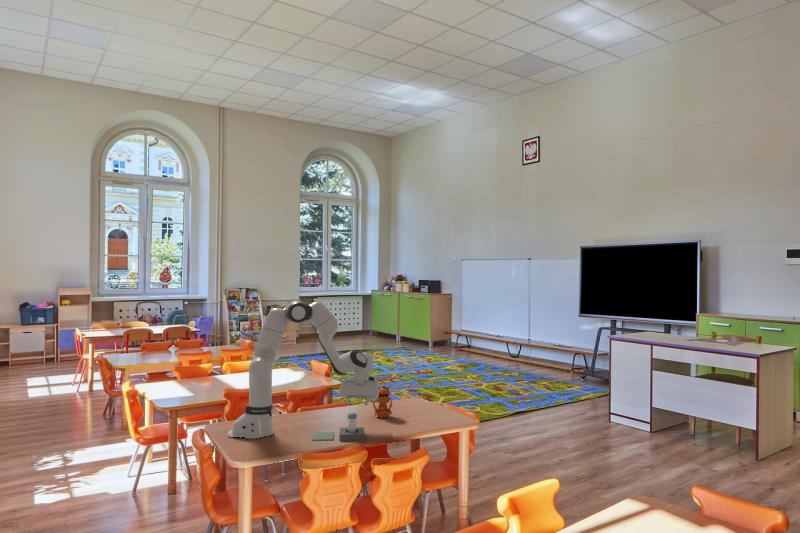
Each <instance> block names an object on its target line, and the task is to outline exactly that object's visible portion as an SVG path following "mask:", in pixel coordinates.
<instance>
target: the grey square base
mask: <svg viewBox="0 0 800 533" xmlns="http://www.w3.org/2000/svg"><path fill="white" fill-rule="evenodd" d="M365 435H366V433H365V427H362V426H361V427H357V426H356V433H348V427H339V439H338V440H339V442H349V441H350V442H359V441H365V439H366V438H365V437H366V436H365Z"/></svg>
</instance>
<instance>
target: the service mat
mask: <svg viewBox="0 0 800 533" xmlns="http://www.w3.org/2000/svg"><path fill="white" fill-rule="evenodd" d="M334 435H335V434H334V431H330V432H329V431H327V432H322V431H321V432H318V431H317V432H315V431H314V432H313V434H312V438H311V441H313V442H314V441H315V442H317V441H319V442H320V441H322V442H323V441H324V442H325V441H327V442H328V441H334Z"/></svg>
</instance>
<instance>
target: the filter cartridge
mask: <svg viewBox="0 0 800 533" xmlns="http://www.w3.org/2000/svg"><path fill="white" fill-rule="evenodd" d="M357 418H358V415H357V413H353V412H350V413H348V414H347V428H348V433H356V427H357Z"/></svg>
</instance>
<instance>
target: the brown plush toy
mask: <svg viewBox="0 0 800 533" xmlns="http://www.w3.org/2000/svg"><path fill="white" fill-rule="evenodd" d="M378 389H379V396H378V398H377V399H375V400H372V406H373V409H374V415H375V416H377V418H378V417H387V418H388V417H390V416H391V415H393V413H392V410H391V409H392V407H393V400H392V399H391V396H390V395H391V393H392V392H391V391H390V390H391V389H390V386H386V385H382V386H381V387H380V386H378ZM375 401H376V402H377V403H378V406H377V407H376V405H375ZM388 403H390V404H389V405H388Z"/></svg>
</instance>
